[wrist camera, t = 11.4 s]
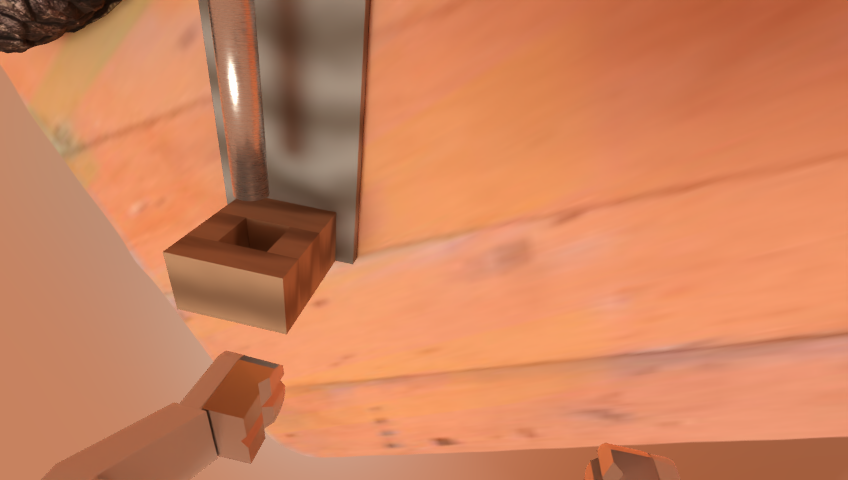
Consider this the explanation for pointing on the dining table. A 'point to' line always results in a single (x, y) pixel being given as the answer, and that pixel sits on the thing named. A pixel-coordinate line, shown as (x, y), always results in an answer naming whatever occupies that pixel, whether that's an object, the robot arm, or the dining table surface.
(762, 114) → the dining table surface
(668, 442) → the dining table surface
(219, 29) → the hook rod
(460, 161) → the dining table surface
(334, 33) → the eye post
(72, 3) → the pine cone
